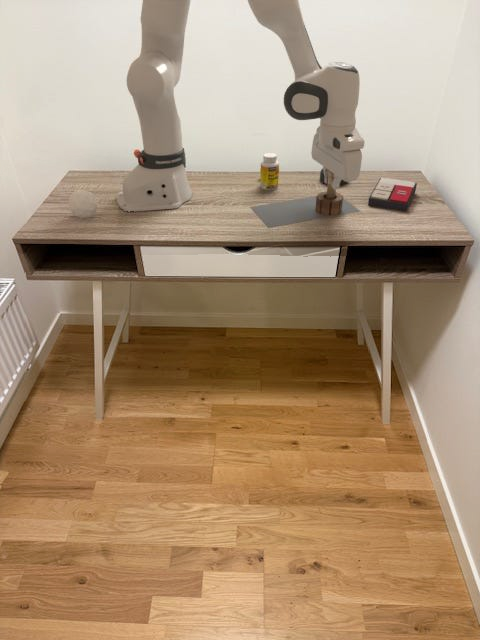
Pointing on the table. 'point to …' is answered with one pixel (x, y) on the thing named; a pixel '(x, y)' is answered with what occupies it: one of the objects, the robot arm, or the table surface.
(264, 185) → the supplement bottle
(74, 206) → the geometric ball
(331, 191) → the dowel
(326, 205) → the bead
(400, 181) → the calculator
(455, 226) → the table surface
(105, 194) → the table surface
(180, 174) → the robot arm
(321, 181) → the smart speaker
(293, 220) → the felt mat
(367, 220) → the table surface
